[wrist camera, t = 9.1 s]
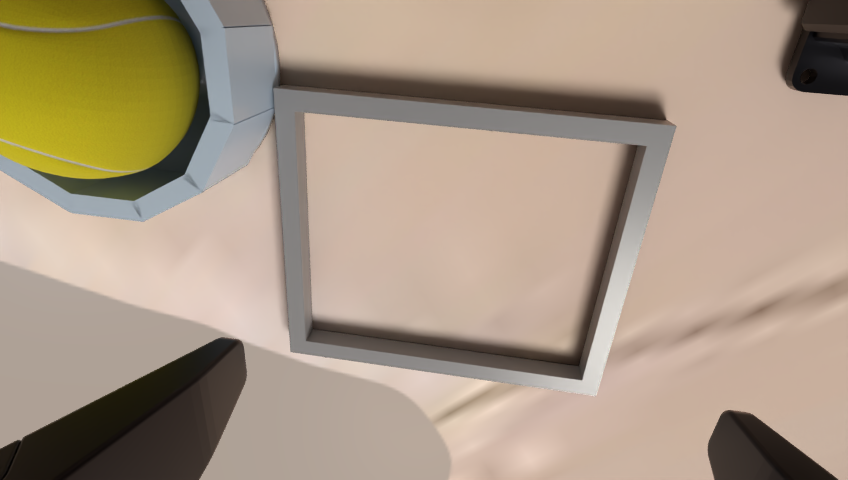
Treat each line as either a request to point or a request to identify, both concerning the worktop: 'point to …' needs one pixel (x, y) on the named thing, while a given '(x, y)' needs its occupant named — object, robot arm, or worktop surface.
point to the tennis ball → (94, 85)
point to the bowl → (212, 124)
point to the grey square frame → (481, 116)
